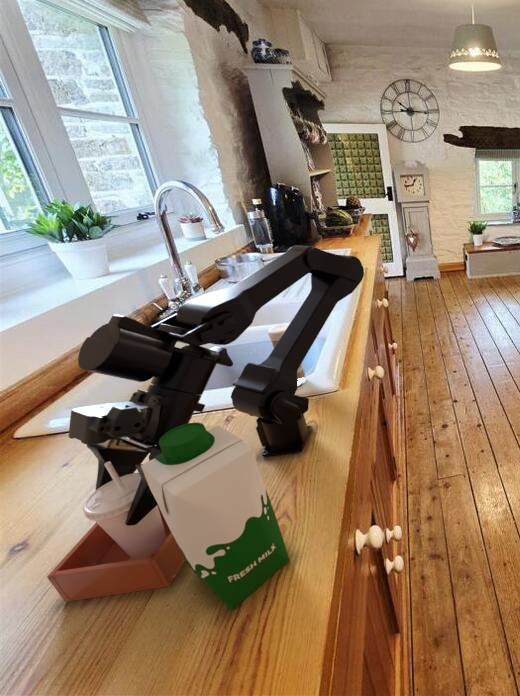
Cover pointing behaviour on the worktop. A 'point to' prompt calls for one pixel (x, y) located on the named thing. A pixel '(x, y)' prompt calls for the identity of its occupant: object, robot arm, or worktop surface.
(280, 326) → the sprinkles bottle
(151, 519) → the smoothie
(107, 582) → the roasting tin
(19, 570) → the worktop surface
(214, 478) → the milk carton
